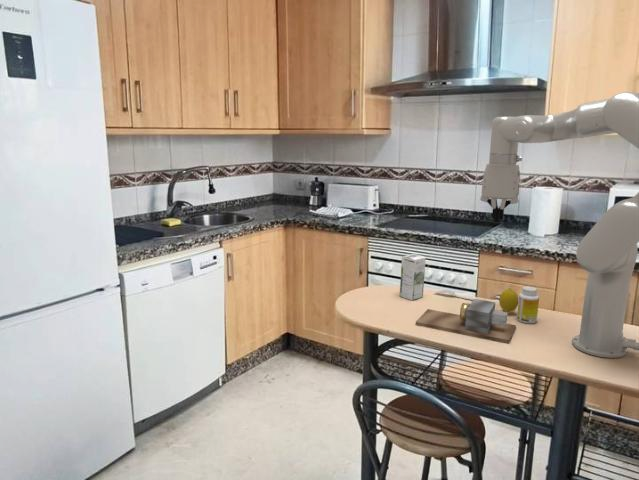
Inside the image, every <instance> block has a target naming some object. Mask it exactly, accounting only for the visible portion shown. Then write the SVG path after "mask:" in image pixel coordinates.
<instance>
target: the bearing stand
mask: <svg viewBox="0 0 639 480" xmlns="http://www.w3.org/2000/svg"><path fill="white" fill-rule="evenodd" d="M473 299H474V300H471V303H469V304H470V305H469V307H468V308H467V311H466V321H464V320H460V314H457V313H456V314H455V313H451V312H446V311H442V310H441V311H440V310H435V309H429V308H428V309H426V310H425V311H424V312H423V313H422V314H421V315H420V317H419V318H418V319H417V320H416V321H415V326H419V327H423V328H424V327H425V328H429V329H435V330H438V331H445V332H448V333H449V332H450V333H454V334H458V335H463V336H469V337H475V338H479V339H484V340H490V341H494V342H498V343H504V344H510V342H511V340H512V337H513V335H514V333H515V331H516V327H517V325H516V324H513V323H512V324H511V323H508V322H507V323H506V325H505V326H502V325H496V324H491V323H490V316H491V311H492V310H496V301H491V300H484V299H478V298H473Z"/></svg>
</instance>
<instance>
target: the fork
mask: <svg viewBox="0 0 639 480" xmlns="http://www.w3.org/2000/svg"><path fill="white" fill-rule="evenodd" d="M443 293H447V294H450V295H453V296H455V297H457V298H460V299H464V300H469V301H473V300H474V299H475V298H471V297H464V296H460V295H458V294H456V293H455V292H454V291H452V290H450V289H446V290H445V289H444V290H441V291H435V292H434V293H433V295H437V294H443Z"/></svg>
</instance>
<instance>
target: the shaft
mask: <svg viewBox="0 0 639 480" xmlns="http://www.w3.org/2000/svg"><path fill="white" fill-rule="evenodd" d="M470 304H471V303H467V302H462V303H461V306H460V308H459V309H460V310H459V315H460V320H464V321H466V311H467V308H468V307H469V305H470ZM508 315H509V313H508V312H506V311H502V310H501V311H500V310H496V309H495V310H492V311H491V316H490V323H491V324H496V325H502V326H505V325H506V323H507V324H508Z"/></svg>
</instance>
